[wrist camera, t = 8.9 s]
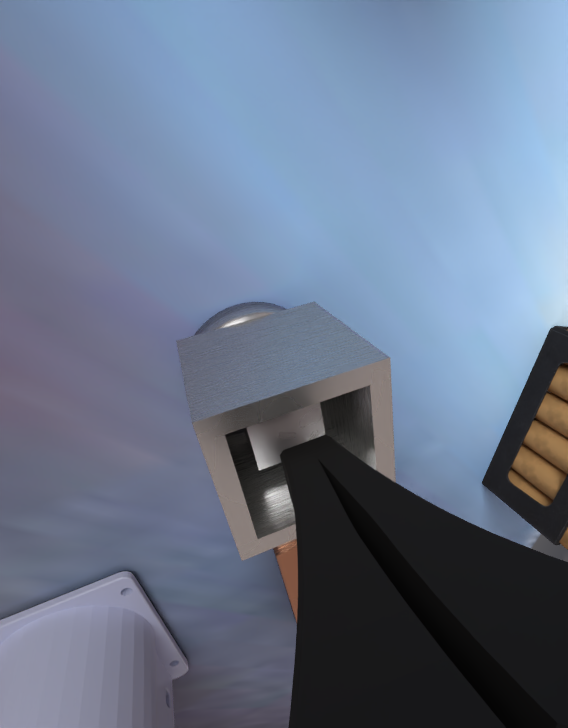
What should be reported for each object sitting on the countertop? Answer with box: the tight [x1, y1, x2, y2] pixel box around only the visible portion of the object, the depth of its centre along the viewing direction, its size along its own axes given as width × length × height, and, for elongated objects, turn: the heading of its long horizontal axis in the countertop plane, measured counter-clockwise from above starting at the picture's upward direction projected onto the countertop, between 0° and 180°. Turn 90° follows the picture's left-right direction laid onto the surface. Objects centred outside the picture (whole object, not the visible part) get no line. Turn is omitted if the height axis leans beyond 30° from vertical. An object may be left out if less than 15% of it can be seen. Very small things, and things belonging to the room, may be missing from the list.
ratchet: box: [184, 302, 325, 623], centre depth 18 cm, size 21×6×4 cm, turn 12°
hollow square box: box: [176, 302, 396, 561], centre depth 12 cm, size 5×5×5 cm
